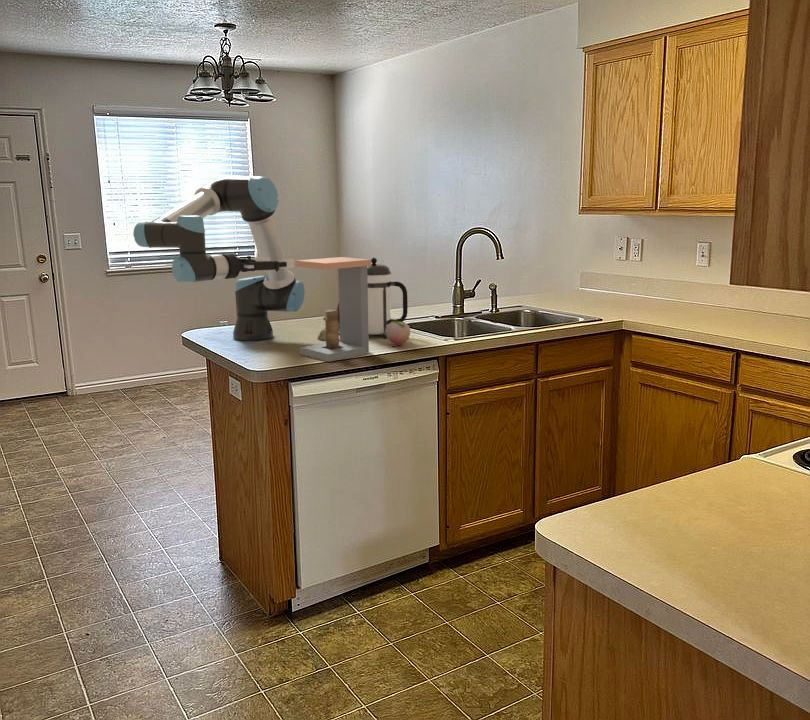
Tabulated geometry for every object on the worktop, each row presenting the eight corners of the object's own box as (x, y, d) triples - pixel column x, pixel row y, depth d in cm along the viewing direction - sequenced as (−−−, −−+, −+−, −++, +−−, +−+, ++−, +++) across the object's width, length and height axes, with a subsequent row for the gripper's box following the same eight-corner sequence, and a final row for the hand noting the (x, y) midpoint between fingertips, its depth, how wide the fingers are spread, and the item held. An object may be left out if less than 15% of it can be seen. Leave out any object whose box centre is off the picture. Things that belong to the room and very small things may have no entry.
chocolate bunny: (332, 341, 277) (332, 315, 275) (316, 339, 281) (315, 313, 279) (341, 339, 282) (340, 312, 279) (325, 337, 286) (324, 311, 283)
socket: (300, 354, 255) (296, 260, 248) (343, 346, 267) (341, 257, 260) (328, 361, 243) (325, 263, 236) (372, 353, 256) (370, 259, 249)
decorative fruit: (415, 346, 267) (415, 318, 265) (398, 349, 262) (398, 321, 260) (398, 342, 274) (398, 315, 272) (381, 345, 269) (381, 318, 267)
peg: (323, 354, 254) (322, 311, 251) (333, 352, 257) (332, 309, 254) (331, 356, 251) (330, 312, 248) (341, 354, 254) (340, 311, 251)
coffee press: (371, 341, 276) (369, 260, 270) (348, 335, 289) (346, 257, 283) (408, 336, 286) (408, 257, 280) (385, 330, 299) (384, 255, 292)
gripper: (203, 276, 238) (260, 271, 252) (245, 282, 220) (304, 276, 234) (202, 252, 236) (259, 248, 251) (244, 256, 219) (303, 252, 233)
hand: (281, 262), depth 242 cm, fingers open, 13 cm apart
